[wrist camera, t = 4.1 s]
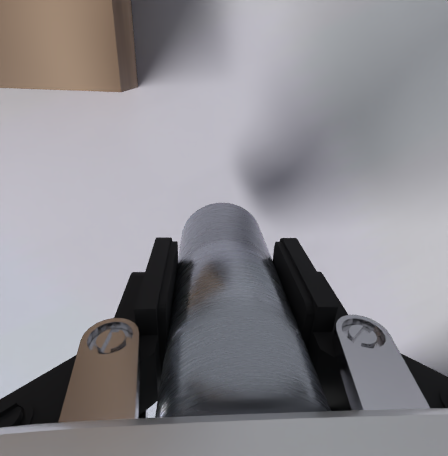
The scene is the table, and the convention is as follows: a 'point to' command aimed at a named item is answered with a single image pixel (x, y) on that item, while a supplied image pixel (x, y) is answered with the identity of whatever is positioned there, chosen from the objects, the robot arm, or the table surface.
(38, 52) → the socket block
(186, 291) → the pin
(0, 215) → the table surface
